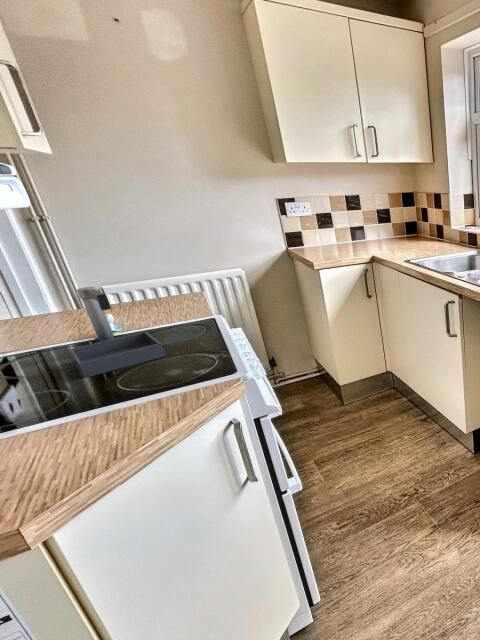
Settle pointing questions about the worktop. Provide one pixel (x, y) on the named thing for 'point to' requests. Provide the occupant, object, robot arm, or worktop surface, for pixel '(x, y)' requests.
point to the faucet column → (98, 320)
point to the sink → (116, 353)
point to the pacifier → (113, 325)
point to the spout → (94, 296)
